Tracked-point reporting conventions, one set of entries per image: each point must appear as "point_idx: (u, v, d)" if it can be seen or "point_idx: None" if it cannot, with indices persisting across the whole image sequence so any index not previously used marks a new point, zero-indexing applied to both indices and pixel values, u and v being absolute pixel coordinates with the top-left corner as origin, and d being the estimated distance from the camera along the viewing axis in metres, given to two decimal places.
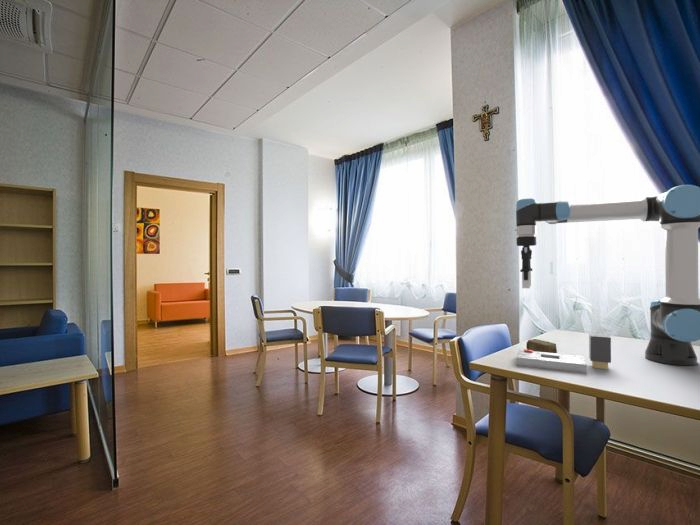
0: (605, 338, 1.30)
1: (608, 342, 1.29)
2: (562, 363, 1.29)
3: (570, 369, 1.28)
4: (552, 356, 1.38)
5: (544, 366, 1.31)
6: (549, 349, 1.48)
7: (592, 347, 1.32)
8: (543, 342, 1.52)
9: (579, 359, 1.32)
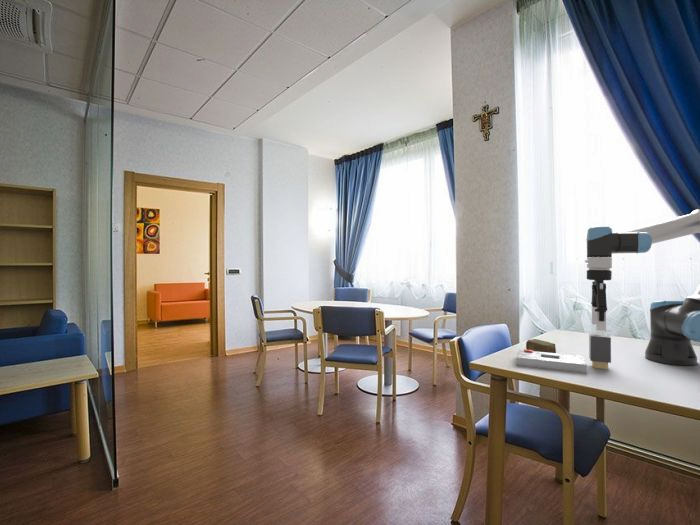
0: (605, 338, 1.30)
1: (608, 342, 1.29)
2: (562, 363, 1.29)
3: (570, 369, 1.28)
4: (552, 356, 1.38)
5: (544, 366, 1.31)
6: (548, 349, 1.48)
7: (592, 347, 1.32)
8: (542, 342, 1.52)
9: (579, 359, 1.32)
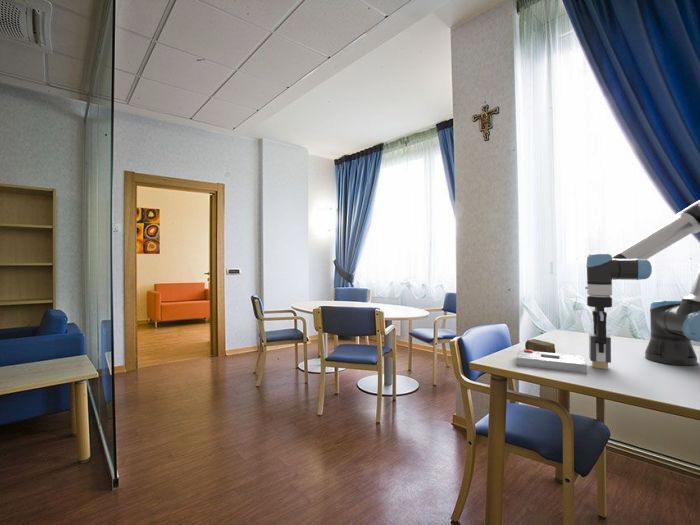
0: None
1: (608, 341, 1.29)
2: (562, 363, 1.29)
3: (570, 369, 1.28)
4: (552, 356, 1.38)
5: (544, 366, 1.31)
6: (548, 350, 1.48)
7: (592, 347, 1.32)
8: (542, 342, 1.52)
9: (579, 359, 1.32)
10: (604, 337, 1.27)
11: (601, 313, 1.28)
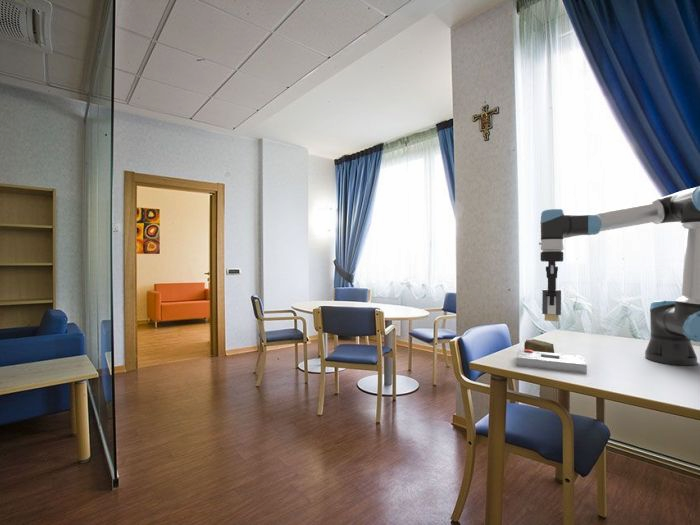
0: (556, 291, 1.33)
1: (559, 294, 1.33)
2: (562, 363, 1.29)
3: (570, 369, 1.28)
4: (552, 356, 1.38)
5: (544, 366, 1.31)
6: (546, 350, 1.48)
7: (544, 300, 1.35)
8: (540, 342, 1.52)
9: (579, 359, 1.32)
10: (554, 289, 1.30)
11: (552, 266, 1.32)
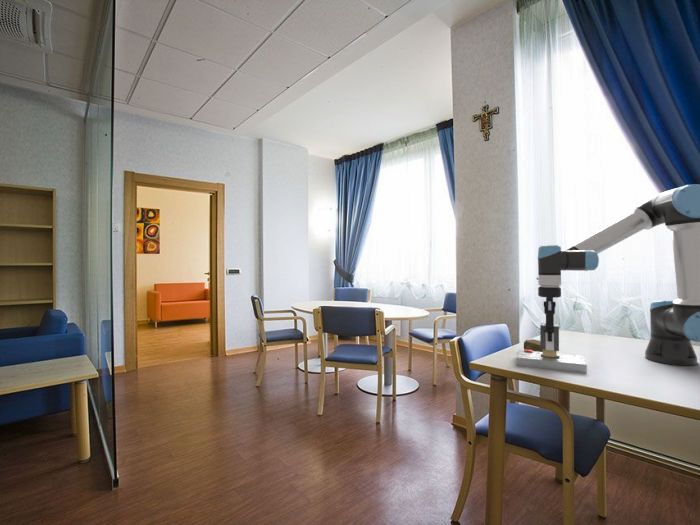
0: (554, 327, 1.33)
1: (557, 330, 1.33)
2: (562, 363, 1.29)
3: (570, 369, 1.28)
4: None
5: (544, 366, 1.31)
6: None
7: (542, 336, 1.35)
8: None
9: (579, 359, 1.32)
10: (552, 326, 1.30)
11: (549, 303, 1.32)
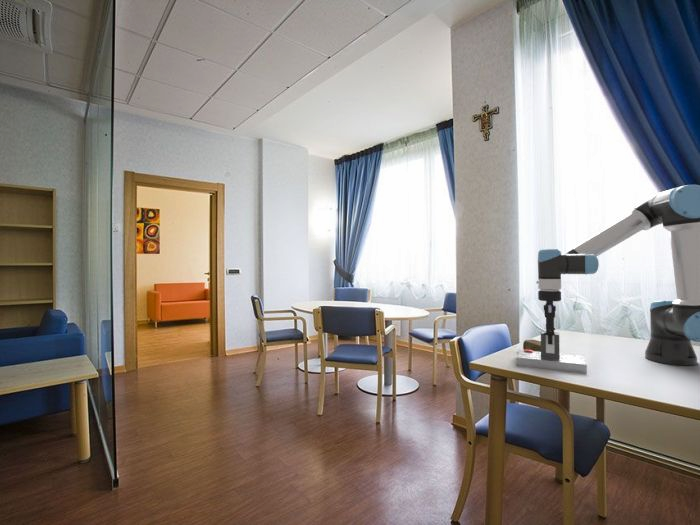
0: (554, 335, 1.33)
1: (557, 339, 1.33)
2: (562, 363, 1.29)
3: (570, 369, 1.28)
4: None
5: (544, 366, 1.31)
6: None
7: (542, 344, 1.35)
8: (539, 342, 1.52)
9: (579, 359, 1.32)
10: (552, 328, 1.29)
11: (550, 306, 1.32)
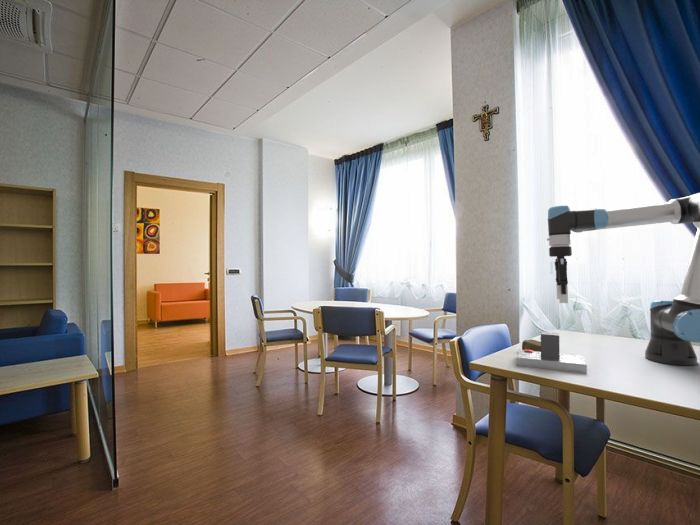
0: (554, 336, 1.33)
1: (557, 339, 1.33)
2: (562, 363, 1.29)
3: (570, 369, 1.28)
4: None
5: (544, 366, 1.31)
6: None
7: (542, 345, 1.35)
8: (538, 343, 1.51)
9: (579, 359, 1.32)
10: (565, 277, 1.32)
11: None
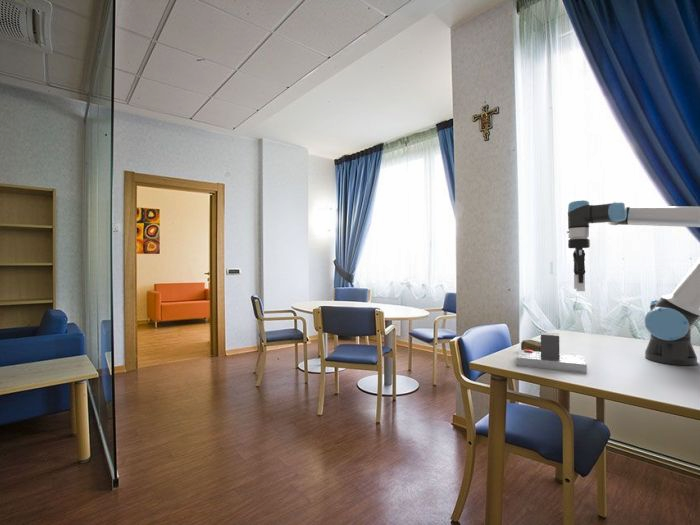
0: (554, 336, 1.33)
1: (557, 340, 1.33)
2: (562, 363, 1.29)
3: (570, 369, 1.28)
4: None
5: (544, 366, 1.31)
6: None
7: (542, 345, 1.35)
8: (536, 343, 1.51)
9: (579, 359, 1.32)
10: (583, 267, 1.41)
11: None
